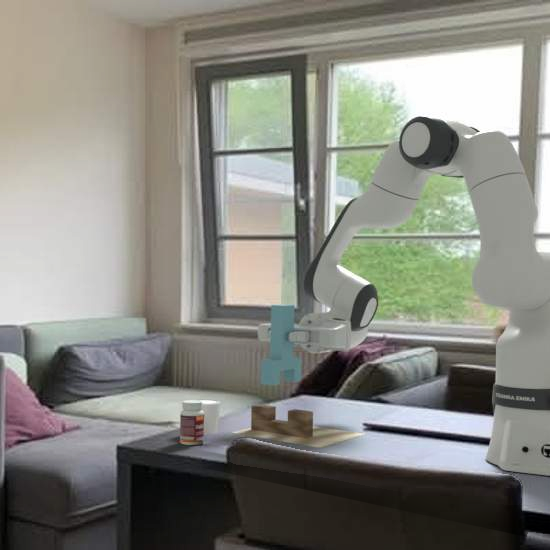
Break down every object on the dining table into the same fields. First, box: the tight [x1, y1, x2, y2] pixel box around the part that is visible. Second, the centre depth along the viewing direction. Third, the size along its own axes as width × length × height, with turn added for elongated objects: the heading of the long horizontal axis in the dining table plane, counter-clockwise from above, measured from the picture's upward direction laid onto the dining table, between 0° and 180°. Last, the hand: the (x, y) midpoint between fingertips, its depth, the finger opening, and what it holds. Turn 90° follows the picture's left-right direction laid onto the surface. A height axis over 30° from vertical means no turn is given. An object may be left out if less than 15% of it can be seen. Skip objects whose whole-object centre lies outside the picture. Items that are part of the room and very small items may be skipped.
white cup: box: [197, 399, 221, 437], centre depth 167 cm, size 7×7×7 cm
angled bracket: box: [260, 304, 303, 387], centre depth 162 cm, size 3×10×16 cm, turn 143°
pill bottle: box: [179, 399, 205, 446], centre depth 158 cm, size 5×5×8 cm
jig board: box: [231, 403, 367, 449], centre depth 162 cm, size 22×17×6 cm
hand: (279, 336), depth 161 cm, fingers closed on angled bracket, 3 cm apart
